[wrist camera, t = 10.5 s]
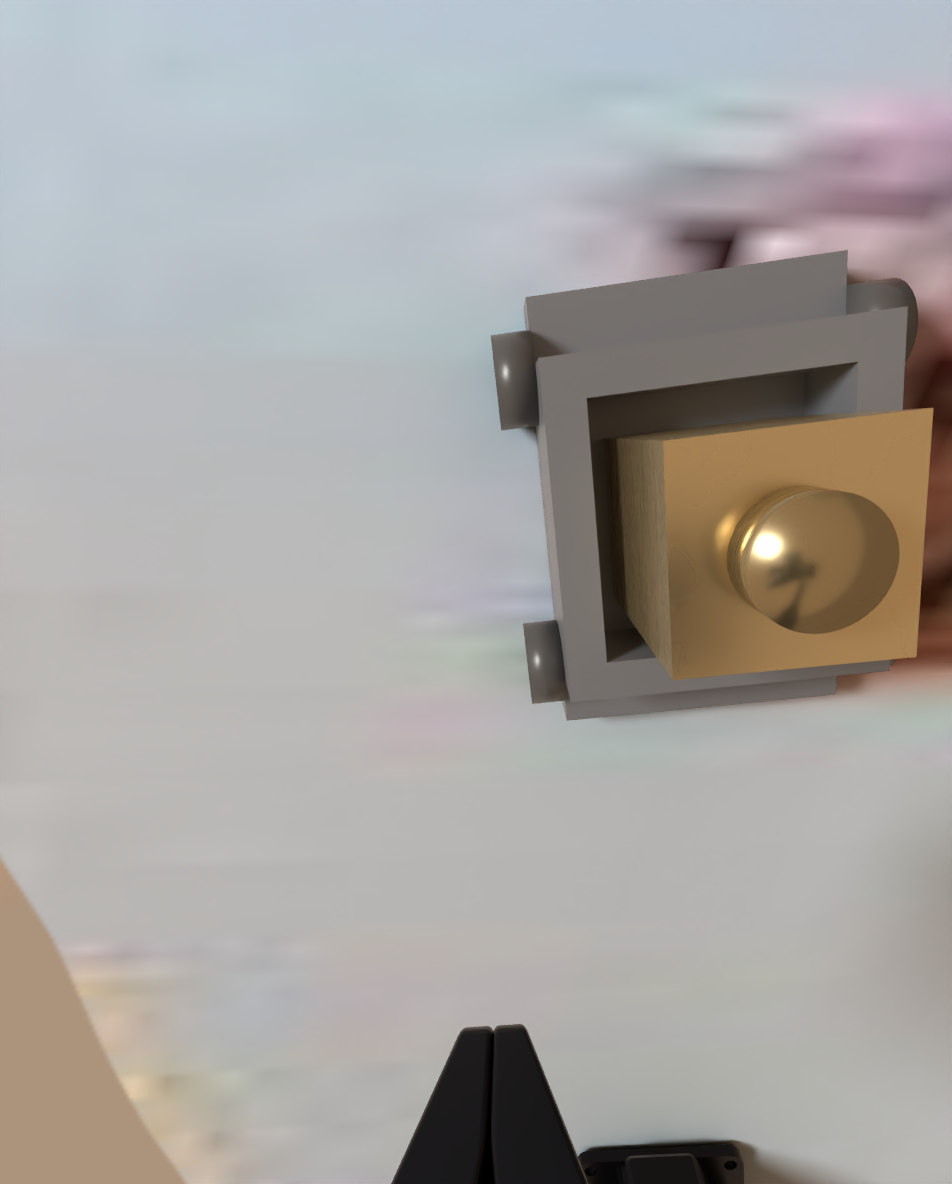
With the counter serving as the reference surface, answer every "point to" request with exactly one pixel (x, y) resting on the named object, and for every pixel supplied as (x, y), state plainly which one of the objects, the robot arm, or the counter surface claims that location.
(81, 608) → the counter surface
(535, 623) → the chassis
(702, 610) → the brass knobbed block
